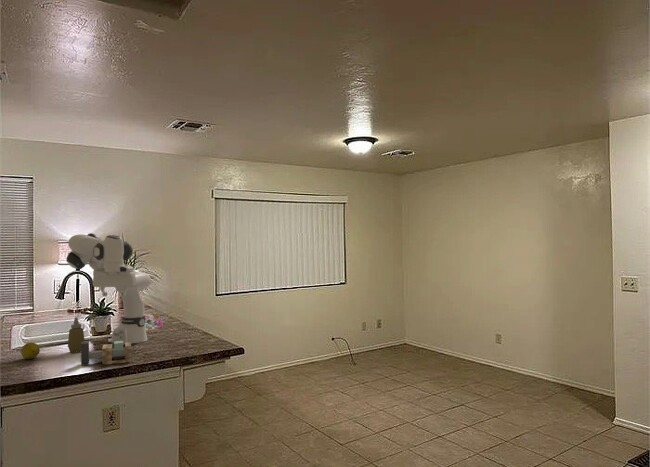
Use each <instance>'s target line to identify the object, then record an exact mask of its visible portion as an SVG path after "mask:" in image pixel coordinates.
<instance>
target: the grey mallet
mask: <svg viewBox="0 0 650 467" xmlns="http://www.w3.org/2000/svg"><path fill="white" fill-rule="evenodd" d="M117 356H125V347H123V350H119V351H114V348H112V357H117ZM131 356H134V347H133V346H131ZM98 359H102V349H101V350H91V351H90V341H89V340H87V341H85V342H82V343H81V352H80V362H81V363H80V364H81V366H87V365H89V364H90V360H98ZM89 366H90V365H89Z"/></svg>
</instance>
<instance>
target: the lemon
mask: <svg viewBox="0 0 650 467" xmlns="http://www.w3.org/2000/svg"><path fill="white" fill-rule="evenodd" d="M20 354H21V356H22V358H24V359H26V360H31V359H34V358H36V357H37V356H39V354H40V346H39V345H38V344H37V343H35V342H28V343H27V342H26V343H25V344H24V345H23V346H22V348H21V349H20Z"/></svg>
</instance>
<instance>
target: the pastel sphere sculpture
mask: <svg viewBox="0 0 650 467" xmlns="http://www.w3.org/2000/svg"><path fill="white" fill-rule="evenodd" d="M144 315H145V328H146V332H148V331H154V330H156V329H159V328H161V327H163V325H164V323H163V317H162V315H160V314H157V312H152V315H151V314H146V313H144Z"/></svg>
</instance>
